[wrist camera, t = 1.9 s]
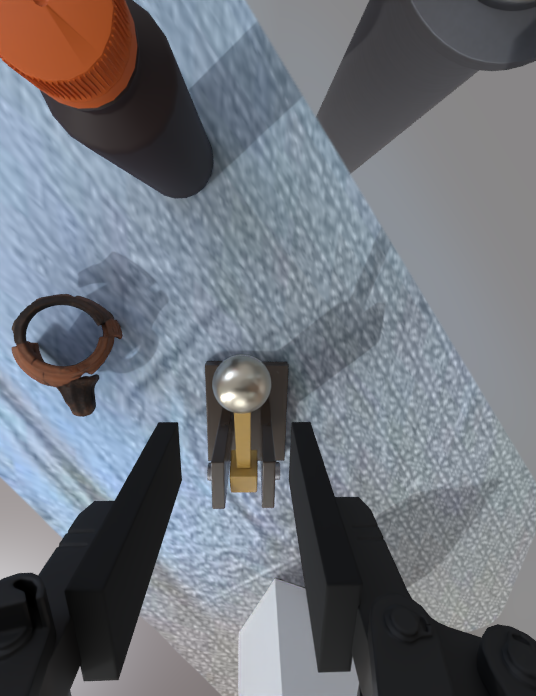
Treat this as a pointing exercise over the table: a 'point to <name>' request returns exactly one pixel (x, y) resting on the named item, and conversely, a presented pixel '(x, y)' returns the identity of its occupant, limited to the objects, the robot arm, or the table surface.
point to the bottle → (111, 86)
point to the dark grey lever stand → (264, 434)
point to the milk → (285, 650)
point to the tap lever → (242, 412)
